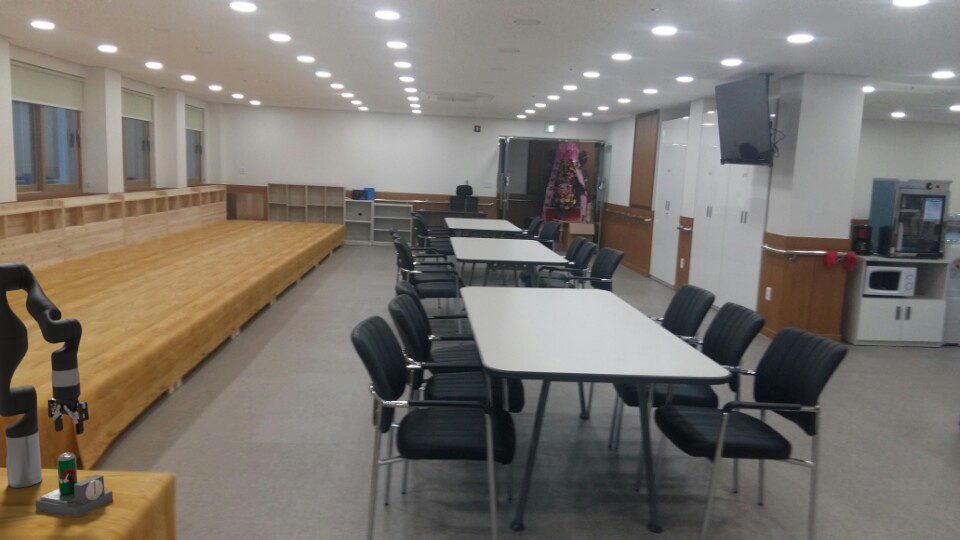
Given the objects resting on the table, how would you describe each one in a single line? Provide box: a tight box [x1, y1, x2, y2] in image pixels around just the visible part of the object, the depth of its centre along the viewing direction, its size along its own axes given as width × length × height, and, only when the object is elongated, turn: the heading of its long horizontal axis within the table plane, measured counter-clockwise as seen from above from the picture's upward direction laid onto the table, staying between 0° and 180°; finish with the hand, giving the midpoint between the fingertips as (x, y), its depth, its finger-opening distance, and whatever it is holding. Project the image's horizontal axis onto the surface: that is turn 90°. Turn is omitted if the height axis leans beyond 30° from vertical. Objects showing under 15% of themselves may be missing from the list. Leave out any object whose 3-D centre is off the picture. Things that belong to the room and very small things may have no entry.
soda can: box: [56, 452, 79, 494], centre depth 218 cm, size 5×5×12 cm
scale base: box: [34, 474, 114, 518], centre depth 218 cm, size 17×13×9 cm
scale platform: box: [39, 488, 75, 505], centre depth 219 cm, size 11×11×1 cm
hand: (69, 432), depth 219 cm, fingers open, 8 cm apart
